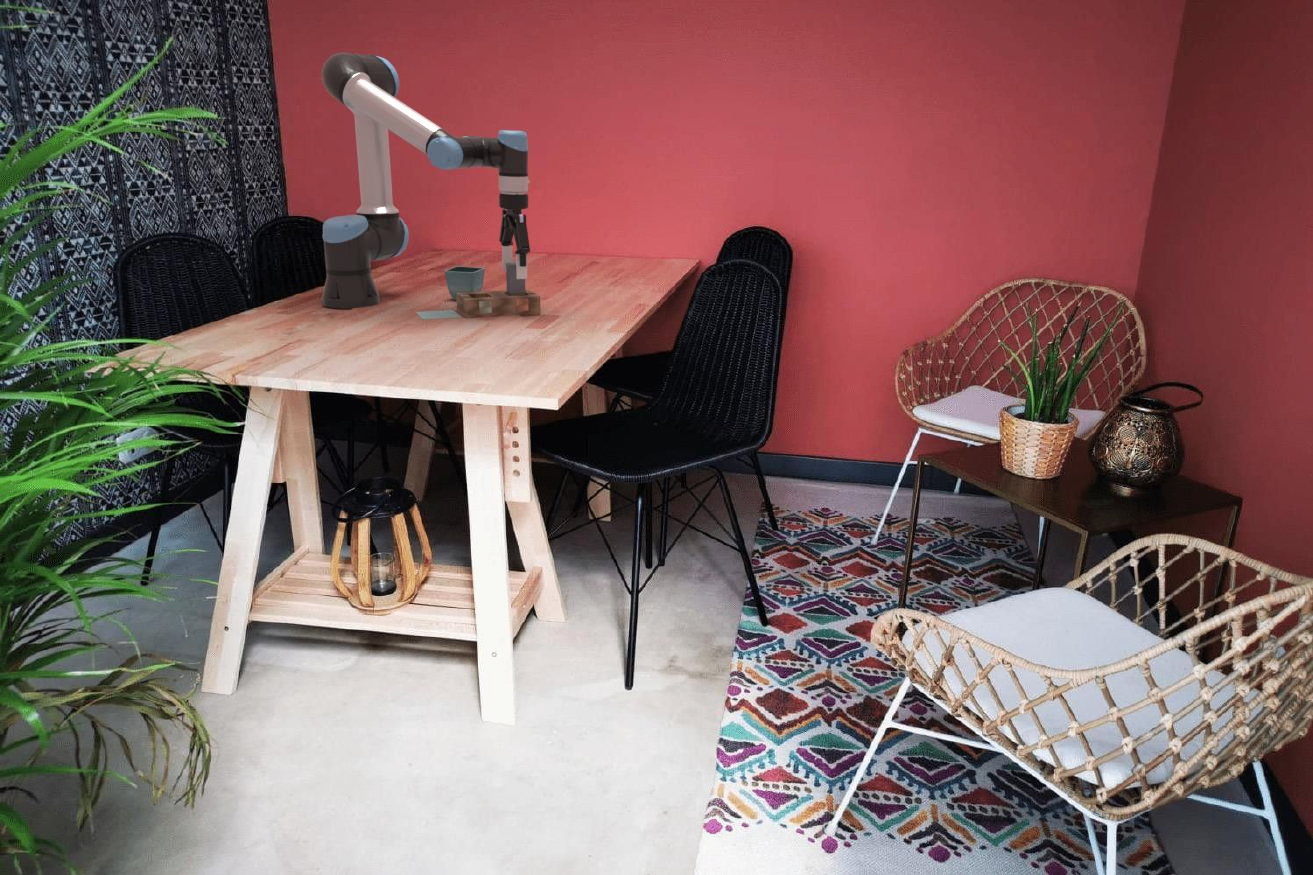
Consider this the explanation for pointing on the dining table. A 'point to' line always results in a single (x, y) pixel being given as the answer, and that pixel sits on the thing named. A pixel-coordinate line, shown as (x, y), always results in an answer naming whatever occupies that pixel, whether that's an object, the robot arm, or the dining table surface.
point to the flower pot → (464, 280)
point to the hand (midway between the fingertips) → (514, 274)
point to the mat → (438, 314)
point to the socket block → (497, 304)
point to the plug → (514, 281)
